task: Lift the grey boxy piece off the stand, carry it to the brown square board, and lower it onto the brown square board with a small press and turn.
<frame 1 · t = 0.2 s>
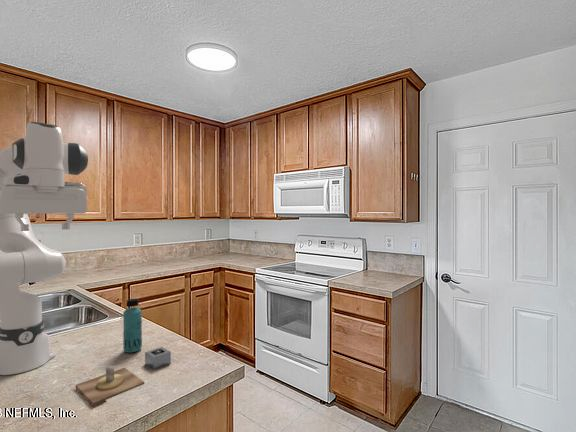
hand: (46, 230, 91), 48 cm above the worktop, fingers open, 8 cm apart
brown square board: (110, 387, 97), on the worktop
stand: (158, 365, 110), on the worktop
beverage bottle: (132, 353, 121), on the worktop
grey boxy piece: (158, 363, 110), point 1 cm above the worktop, touching stand
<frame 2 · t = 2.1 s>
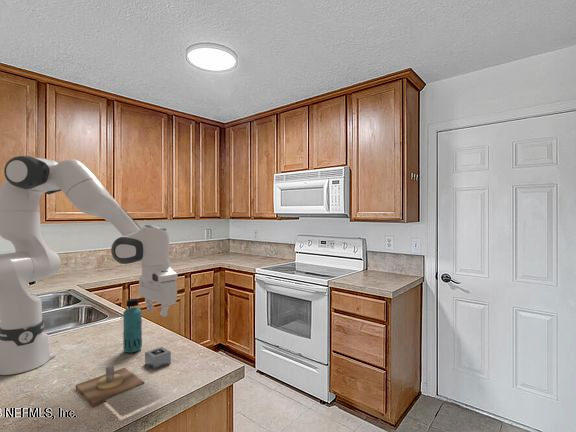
hand: (157, 313, 110), 18 cm above the worktop, fingers open, 8 cm apart
nothing on the worktop moved.
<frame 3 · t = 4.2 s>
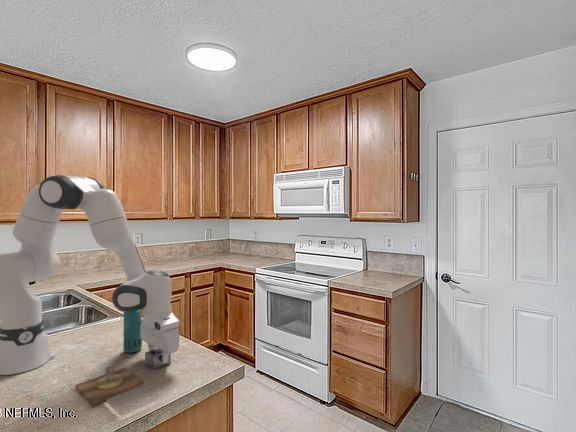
hand: (158, 358, 110), 2 cm above the worktop, fingers open, 6 cm apart
beverage bottle: (132, 353, 121), on the worktop, touching arm
grey boxy piece: (158, 363, 110), point 1 cm above the worktop, touching gripper, stand
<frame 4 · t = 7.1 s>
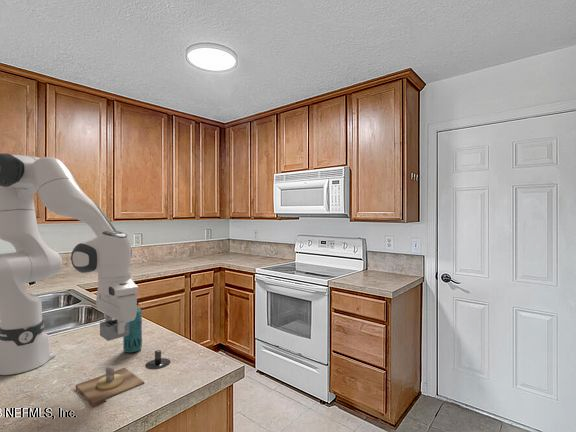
hand: (115, 330, 98), 17 cm above the worktop, fingers closed on grey boxy piece, 6 cm apart
beverage bottle: (132, 353, 121), on the worktop
grey boxy piece: (114, 335, 98), point 15 cm above the worktop, touching gripper
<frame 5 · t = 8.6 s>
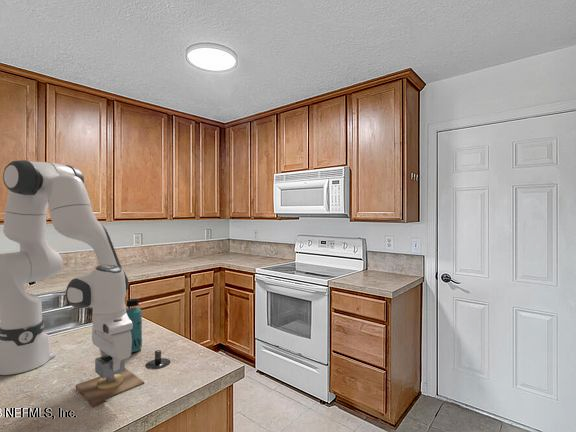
hand: (110, 366, 97), 6 cm above the worktop, fingers closed on grey boxy piece, 6 cm apart
grey boxy piece: (110, 371, 97), point 5 cm above the worktop, touching gripper
everything else where it was.
when the fingers open (4 cm above the worktop, at t = 9.7 s): grey boxy piece stays where it is, resting on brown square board.
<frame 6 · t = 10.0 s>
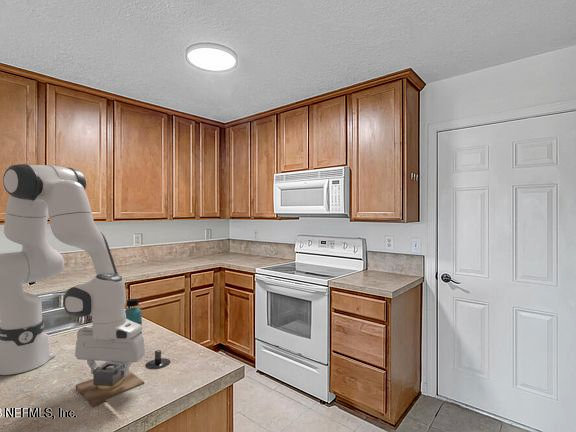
hand: (110, 374, 97), 4 cm above the worktop, fingers open, 8 cm apart
grey boxy piece: (109, 380, 97), point 2 cm above the worktop, touching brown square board
everything else where it was.
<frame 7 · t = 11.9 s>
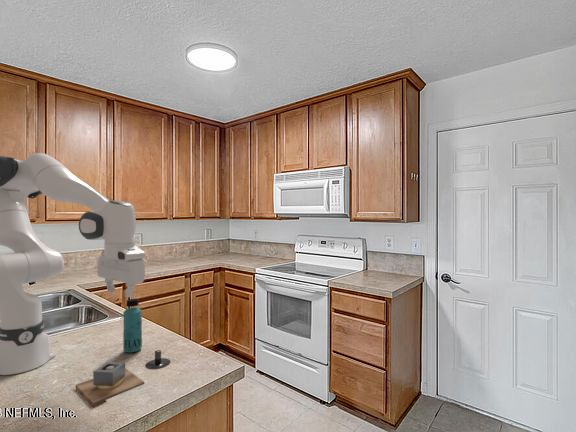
hand: (119, 294, 104), 26 cm above the worktop, fingers open, 8 cm apart
nothing on the worktop moved.
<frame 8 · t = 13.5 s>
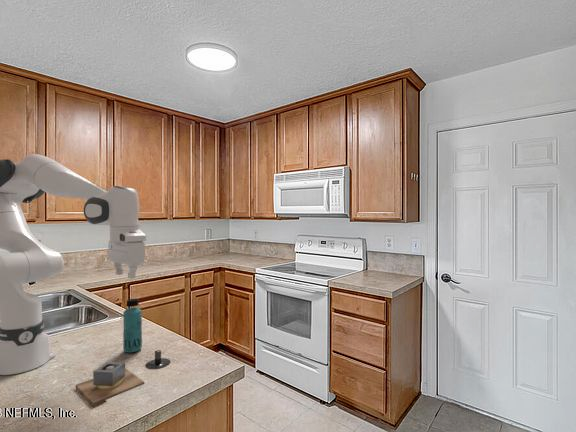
hand: (125, 276, 108), 31 cm above the worktop, fingers open, 8 cm apart
nothing on the worktop moved.
at the end: grey boxy piece 0.1 cm off-centre on the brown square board, point 2.2 cm above the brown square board's base; the gripper is holding nothing; grey boxy piece tilted 0° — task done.
